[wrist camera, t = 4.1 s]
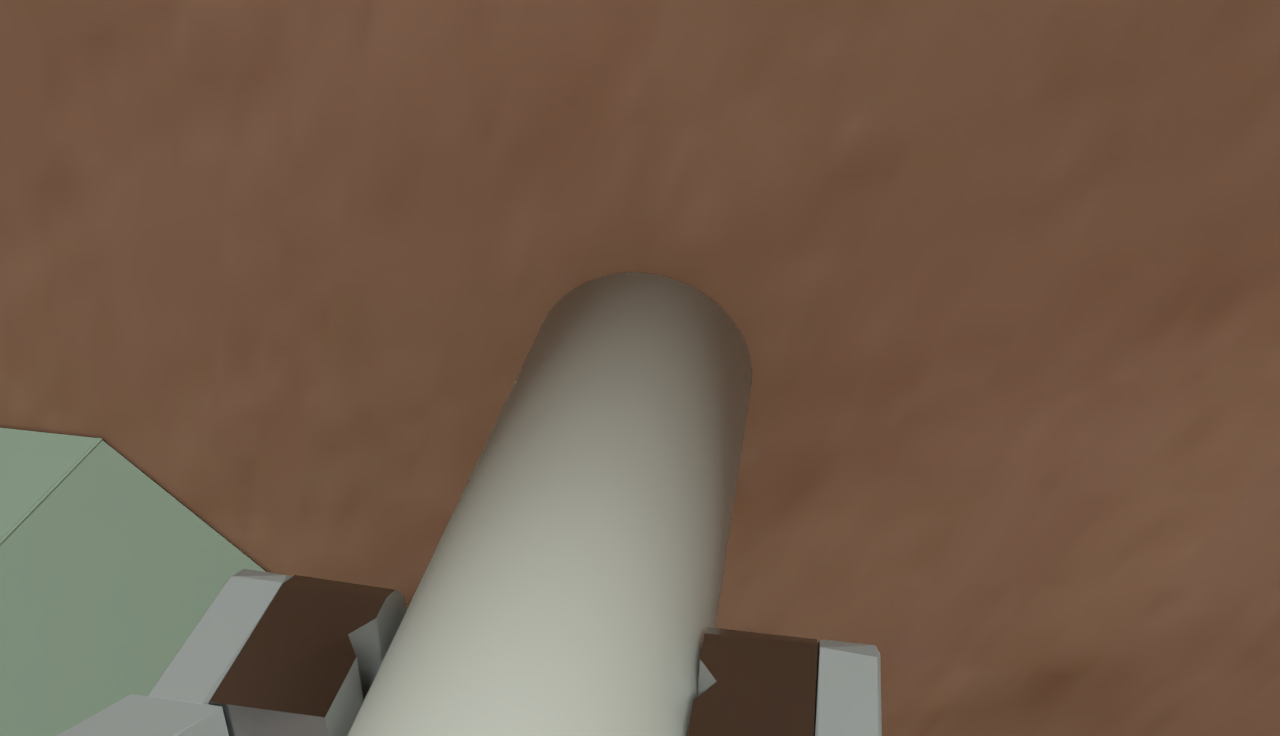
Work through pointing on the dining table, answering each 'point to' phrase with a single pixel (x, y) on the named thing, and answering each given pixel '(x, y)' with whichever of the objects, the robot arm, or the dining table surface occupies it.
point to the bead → (93, 579)
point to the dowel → (583, 531)
